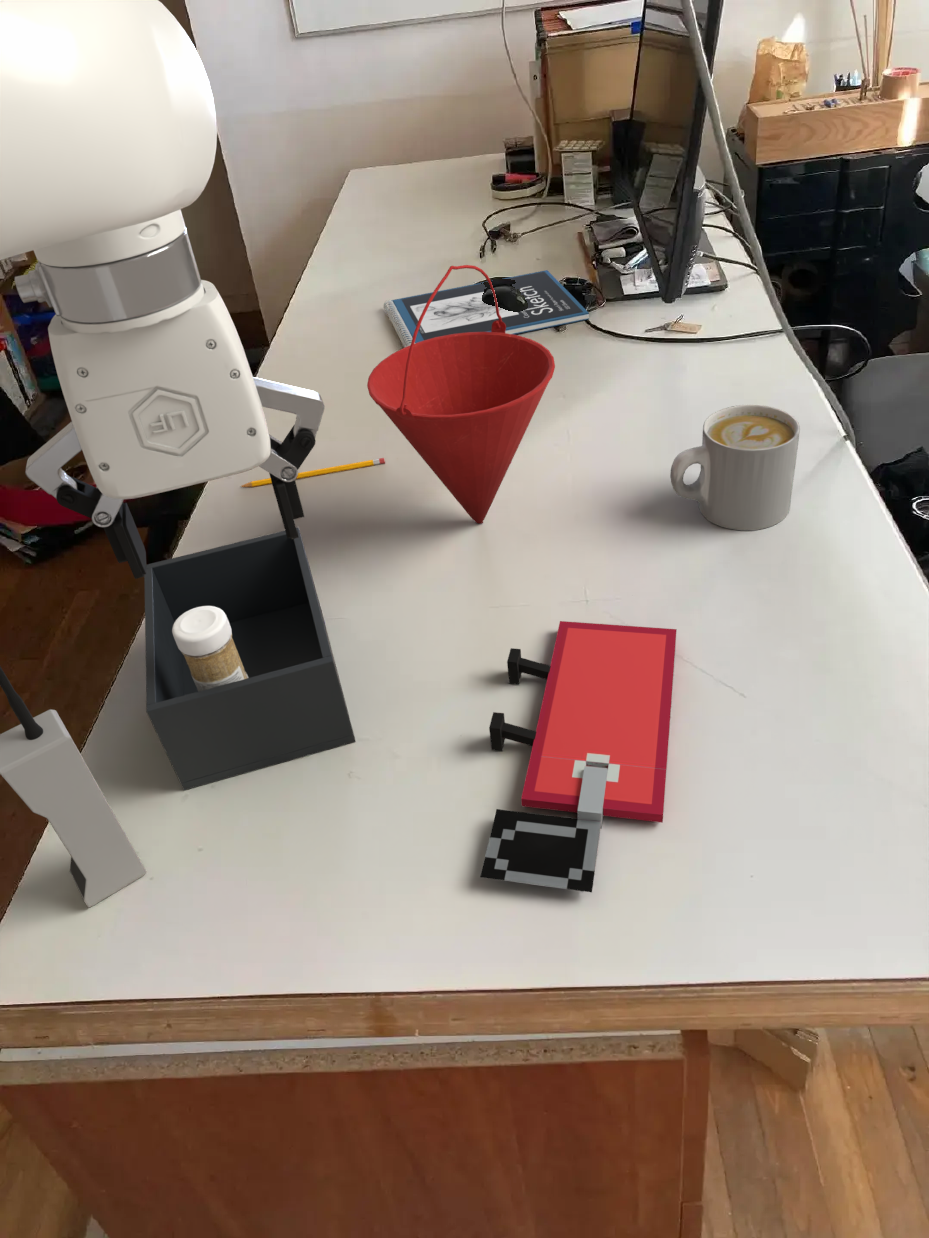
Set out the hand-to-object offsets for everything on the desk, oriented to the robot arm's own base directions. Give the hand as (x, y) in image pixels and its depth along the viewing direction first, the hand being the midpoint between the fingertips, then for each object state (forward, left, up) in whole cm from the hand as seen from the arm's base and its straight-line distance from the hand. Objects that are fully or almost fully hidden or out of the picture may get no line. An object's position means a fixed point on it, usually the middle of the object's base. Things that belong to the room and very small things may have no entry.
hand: (216, 546), depth 59 cm
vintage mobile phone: (+1, +17, -29) cm, 33 cm away
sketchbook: (+96, -43, -29) cm, 109 cm away
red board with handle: (0, -24, -29) cm, 37 cm away
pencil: (+57, -8, -29) cm, 64 cm away
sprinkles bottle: (+12, +5, -28) cm, 31 cm away
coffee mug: (+28, -52, -29) cm, 66 cm away
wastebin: (+19, +3, -29) cm, 34 cm away
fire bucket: (+37, -25, -29) cm, 53 cm away
